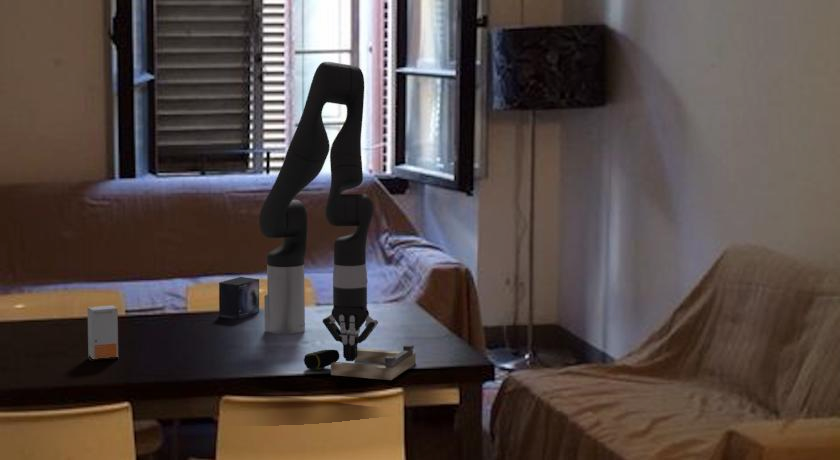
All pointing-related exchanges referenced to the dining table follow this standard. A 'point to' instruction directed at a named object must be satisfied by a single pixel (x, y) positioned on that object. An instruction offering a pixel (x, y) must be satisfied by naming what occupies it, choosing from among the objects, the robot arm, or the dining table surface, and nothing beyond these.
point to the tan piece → (393, 368)
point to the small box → (238, 297)
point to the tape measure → (321, 359)
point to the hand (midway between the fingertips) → (350, 360)
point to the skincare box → (102, 332)
